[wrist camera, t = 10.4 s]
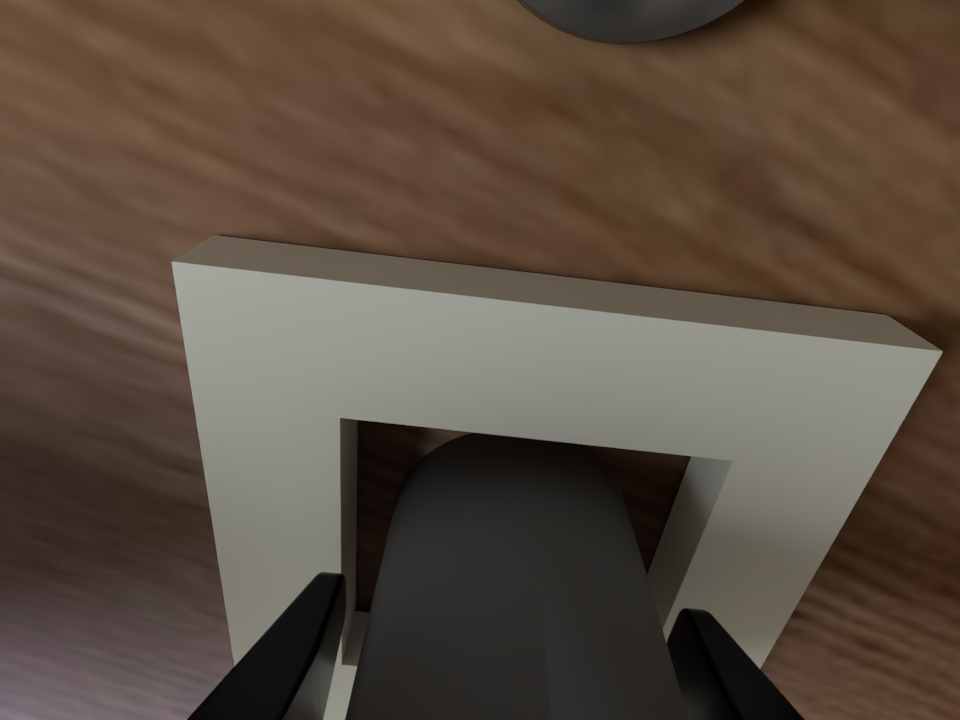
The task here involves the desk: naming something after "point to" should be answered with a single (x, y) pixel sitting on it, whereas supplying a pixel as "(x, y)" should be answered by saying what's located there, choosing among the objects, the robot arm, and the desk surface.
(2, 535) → the desk surface
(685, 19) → the post
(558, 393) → the socket block
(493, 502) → the plug
